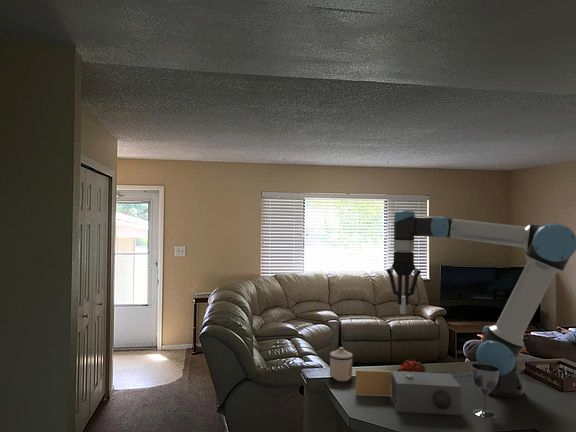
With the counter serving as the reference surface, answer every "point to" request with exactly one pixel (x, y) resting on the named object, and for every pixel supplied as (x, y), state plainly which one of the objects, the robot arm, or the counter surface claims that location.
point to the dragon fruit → (411, 366)
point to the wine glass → (485, 385)
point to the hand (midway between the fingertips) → (402, 313)
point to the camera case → (425, 393)
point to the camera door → (372, 382)
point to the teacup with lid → (341, 364)
